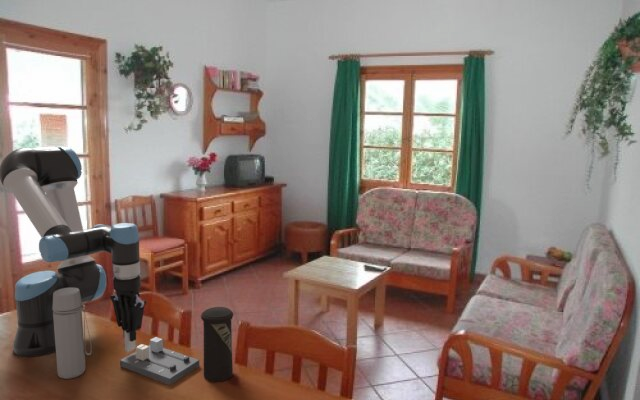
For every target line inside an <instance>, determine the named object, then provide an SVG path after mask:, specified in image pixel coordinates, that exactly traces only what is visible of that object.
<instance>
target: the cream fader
mask: <svg viewBox="0 0 640 400" xmlns="http://www.w3.org/2000/svg"><path fill="white" fill-rule="evenodd" d="M134 350H135V352H136V358H137V359H140V360H142V361H143V360H145V359H147V358H149V346H148V345H146V344H144V343H143V344H142V343H140V344H139V345H136V347H135V349H134Z"/></svg>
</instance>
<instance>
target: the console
mask: <svg viewBox="0 0 640 400" xmlns="http://www.w3.org/2000/svg"><path fill="white" fill-rule="evenodd" d="M147 346H149V358H147V359H145V360H143V361H142V360H140V359H137V358H136V351H135V352H133V353H131V354H129V355H127V356H125V357H123V358H122V359H119V363H120V367H121V368H124V369H126V370H128V371H132V372H134V373H137V374H140V375H142V376H144V377H147V378H150V379H152V380H155V381H158V382H160V383H163V384H165V385H168V386H171V385H173V384H174V383H175V382H177V381H179V380H180V379H182V378H183V377H185V376H187V375H188V374H190V373H191V372H193V371H194V370H196V369H197V368H199V367H200V359H197V358H194V357H192V356H188V355H185V354H183V353H180V352H177V351H173V350H171V349H167V348H165V347H163V350H162V351H160V352H158V353H156V352H153V351H150V344H148V345H147Z"/></svg>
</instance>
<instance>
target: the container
mask: <svg viewBox="0 0 640 400" xmlns="http://www.w3.org/2000/svg"><path fill="white" fill-rule="evenodd" d="M233 317H234V312H233V311H232V310H231V309H230V308H229V307H225V306H214V307H213V306H212V307H209V308H207V309H205V310H204V311H202V312H201V315H200V318H201V320H202V321H203V323H202V324H203V325H202V326H203V377H204V379H206V380H207V381H209V382H214V383H219V382H225V381H227V380H229V379H231V378H232V377H233V374H234V370H233V368H234V367H233V364H234V363H233V339H232V338H233V337H232V336H233V335H232V332H233V331H232V320H233Z"/></svg>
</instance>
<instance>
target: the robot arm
mask: <svg viewBox="0 0 640 400" xmlns="http://www.w3.org/2000/svg"><path fill="white" fill-rule="evenodd" d="M0 163H1V164H0V183H1V184H2V187H4V189H5V190H6V191H7V192H8V193H11V194H13V196H14V197H15V199H16V201H17V202H18V204H19V206H20V207H21V209H22V210H23V212H24V213H25V214H26V216H27V218H28V219H29V221H30V223H31V224H32V225H33V228H34V229H35V230H36V231H37V233H38V234H39V236H40V239H39V242H38V251H39V253H40V256H41V259H42V260H43V261H44V262H47V263H56V262H60V264H58V266H57V272H56V271H54V270H43V271H42V270H40V271H36V272H32V273H29V274H27V275H25V276H23V277H21V278H19V279H18V281H17V282H16V283H15V286H14V291H15V292H14V293H15V294H14V299H15V307H16V308H15V309H16V317H17V329H16V333H15V336H14V340H13V343H12V348H13V353H14V354H15V355H17V356H21V357H26V358H27V357H30V358H31V357H39V356H44V355H49V354H52V353H55V352H56V345H55V332H54V319H53V312H54V311H53V310H52V308H53V293H54V292H55V291H57V290H59V289H63V288H72V287H73V288H78V289H79V290H80V296H81V301H82V304H85V303H90V302H92V301H95V300H97V299H100V298H102V296H103V295H104V293H105V291H106V289H107V275H106V271H105V269H104V267H103V265H100V264H97V263H96V259H95V258H94V257H92V256H90V255H94V254H99V253H103V252H104V253H105V252H107V253H110V254H111V259H112V262H111V263H112V276H113V278H112V281H113V290H114V291H115V293H114V294H112V295H110V300H111V302H112V306H113V310H114V315H115V319H116V320H115V321H116V323H117V324H116V325H117V327H119V328H120V327H121V330H122V331H123V333H122V334H123V339H124V351H125V352H127V353H130V352H133V351H134V350H136V349H135V347H137V345H136V340H137V331H138V330H140V329H142V325H143V324H142V323H143V317H144V312H145V311H144V310H145V307H146V305H147V301H146V300H142V298H141V297H140V296H141V294H140V288H141V287H142V286H141V285H142V283H141V282H142V281H141V279H142V278H141V275H140V274H141V261H140V234H139V227H138V226H137V224H135V223H131V222H130V223H129V222H121V223H115V224H113V225H109V224H103V223H102V224H101V223H98V224H95V225H93V226H92V227H91V228H87V229H84V228H83V227H84V226H83V222H82V219H81V215H80V211H79V210H80V209H79V205H78V200H77V195H76V193H75V192H76V191H75V188H76V187H77V185H78V184H79V183H78V180H79V179H80V178H81V176H82V170H83V168H82V167H83V166H82V163H81V160H80V158H79V156H78V153H76V152H75V150H73V149H72V148H71V147H68V146H67V147H66V146H47V147H46V146H45V147H43V146H42V147H22V148H18V149H17V148H16V149H15V150H12V151H11V152H9V153H8V154H7V155H6V156H5V157H4V159H3V160H2V161H1V162H0Z"/></svg>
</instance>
